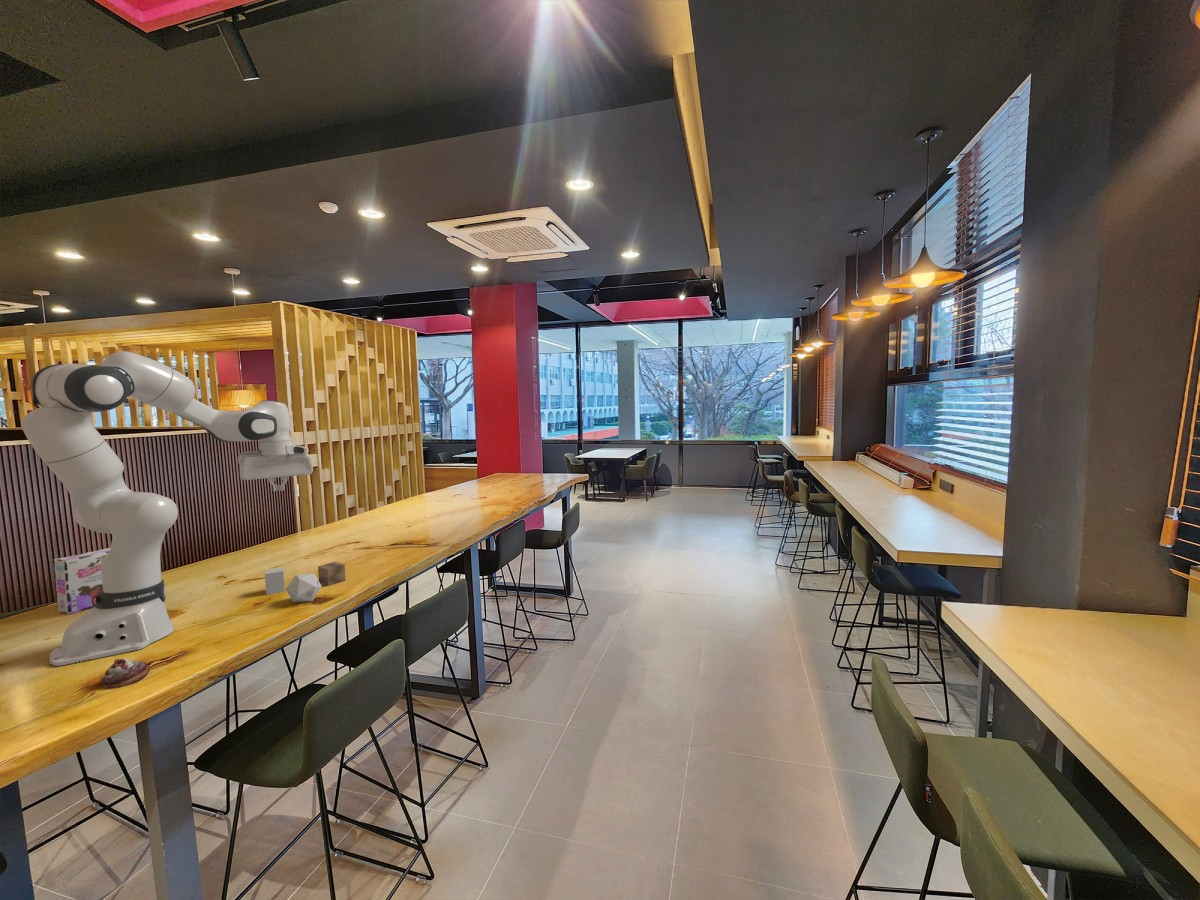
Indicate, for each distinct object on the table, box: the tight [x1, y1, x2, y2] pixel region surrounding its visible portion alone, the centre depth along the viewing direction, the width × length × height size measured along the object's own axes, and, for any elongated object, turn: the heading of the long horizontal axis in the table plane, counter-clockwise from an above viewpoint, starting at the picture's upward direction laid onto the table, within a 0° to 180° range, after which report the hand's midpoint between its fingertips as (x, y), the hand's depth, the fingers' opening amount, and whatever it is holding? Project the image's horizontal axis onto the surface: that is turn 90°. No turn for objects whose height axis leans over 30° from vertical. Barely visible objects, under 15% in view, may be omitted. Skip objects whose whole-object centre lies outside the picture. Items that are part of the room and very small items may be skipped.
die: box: [285, 572, 322, 604], centre depth 151 cm, size 8×9×10 cm
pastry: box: [100, 658, 150, 689], centre depth 107 cm, size 8×8×5 cm
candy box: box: [53, 547, 110, 615], centre depth 148 cm, size 14×6×16 cm, turn 161°
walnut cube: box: [317, 561, 347, 587], centre depth 167 cm, size 6×6×6 cm
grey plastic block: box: [264, 566, 286, 596], centre depth 159 cm, size 5×5×7 cm
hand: (278, 490), depth 160 cm, fingers closed
